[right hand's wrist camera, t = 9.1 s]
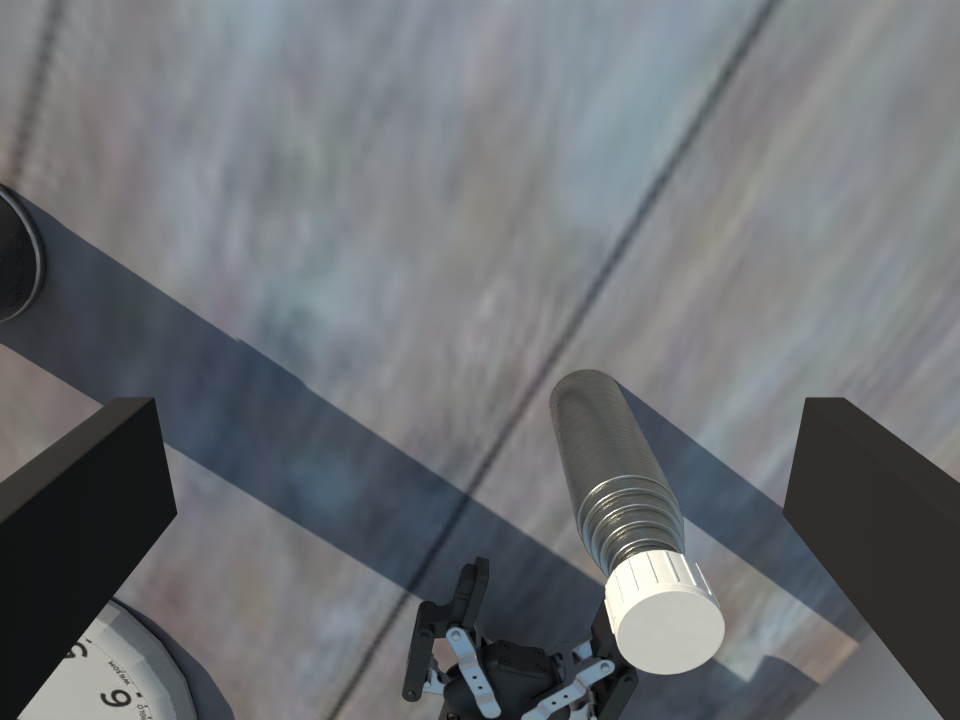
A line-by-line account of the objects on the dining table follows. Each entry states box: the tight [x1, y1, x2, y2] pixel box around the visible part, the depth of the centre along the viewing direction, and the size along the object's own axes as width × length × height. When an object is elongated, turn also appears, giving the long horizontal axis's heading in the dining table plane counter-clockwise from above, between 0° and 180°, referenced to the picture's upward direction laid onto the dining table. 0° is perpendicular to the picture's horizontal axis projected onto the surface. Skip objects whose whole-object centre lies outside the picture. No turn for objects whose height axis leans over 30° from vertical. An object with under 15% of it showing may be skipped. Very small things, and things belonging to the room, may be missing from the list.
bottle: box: [549, 370, 685, 579], centre depth 31 cm, size 5×5×19 cm
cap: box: [604, 550, 725, 675], centre depth 23 cm, size 4×4×2 cm
